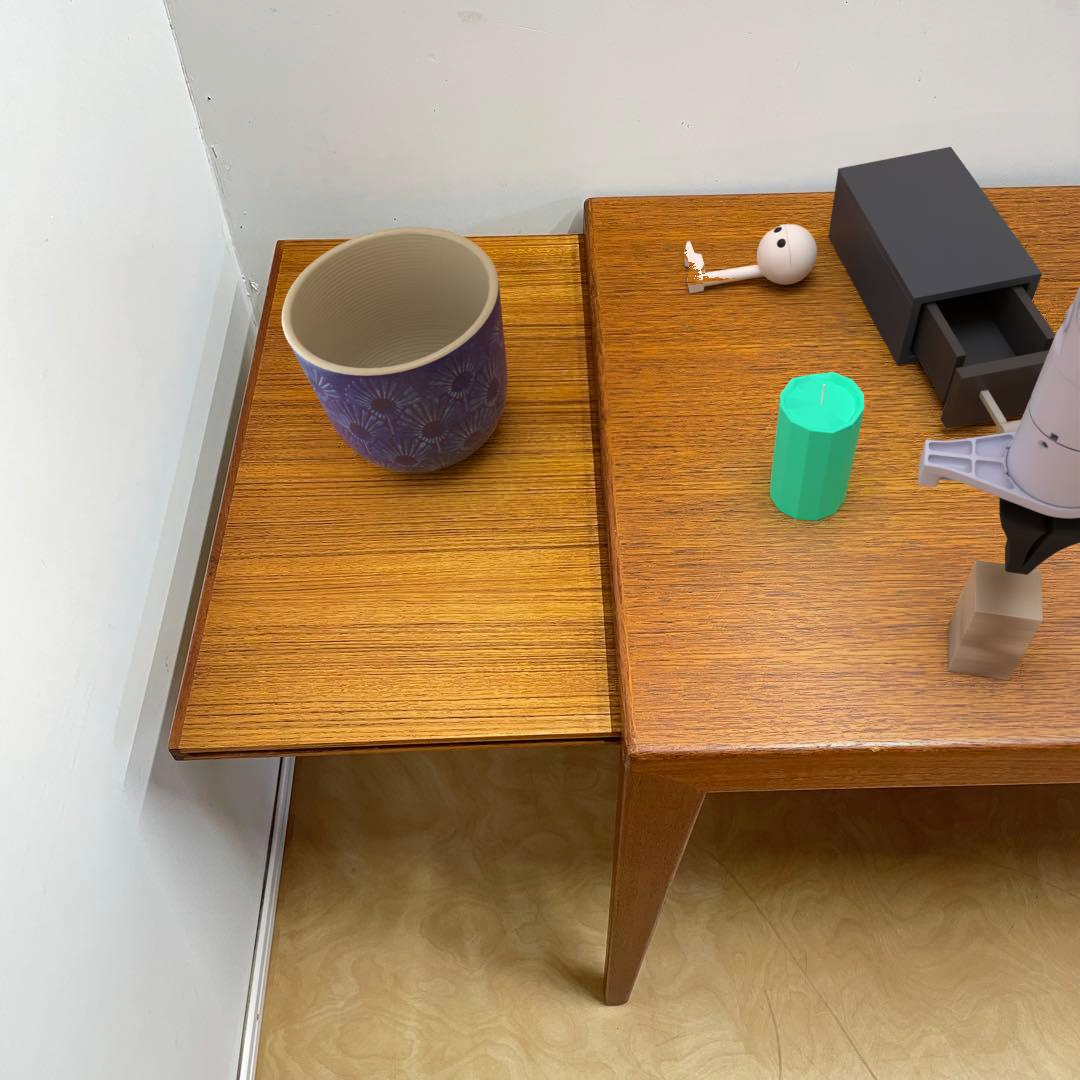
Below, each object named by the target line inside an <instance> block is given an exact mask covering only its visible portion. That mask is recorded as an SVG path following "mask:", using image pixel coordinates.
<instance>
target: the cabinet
mask: <svg viewBox="0 0 1080 1080" xmlns="http://www.w3.org/2000/svg"><path fill="white" fill-rule="evenodd" d="M828 229H829V230H828V238H829V241H830V243H831V244H832V246H833V248H834V250H835V251H836V254H837V256H838V258H839V259H840V262H841V263H842V265H843V267H844V269H845V270H846V272H847V274H848V276H849V278H850V280H851V281H852V283H853V285H854V287H855V289H856V291H857V293H858V295H859V297H860V299H861V301H862V302H863V305H864V306H865V308H866V310H867V311H868V313H869V315H870V318H871V319H872V321H873V323H874V325H875V327H876V328H877V330H878V332H879V334H880V336H881V338H882V339H883V342H884V343H885V345H886V347H887V349H888V351H889V352H890V355H891V356H892V358H893V360H894V362H895V364H896V366H897V367H901V366H905V365H910V364H916V363H920V361H919V359H918V358H917V356H916V354H915V352H914V350H913V349H912V347H911V343H912V339H913V335H914V331H915V327H916V323H917V319H918V315H919V312H920V308H921V304H922V303H928V302H933V301H938V300H943V299H948V298H953V297H959V296H964V295H969V294H974V293H979V292H984V291H990V290H995V289H1000V288H1005V287H1010V286H1015V285H1020V284H1021V285H1022V287H1023V288H1024V290H1025V291H1026V293H1027V294H1028V296H1029V297H1030V298H1031V300H1032V301H1033V300H1034V297H1035V294H1036V293H1037V289H1038V286H1039V285H1040V284H1039V283H1040V281H1041V278H1042V276H1043V272H1042V271H1041V269H1040V268H1039V267H1038V265H1037V264H1036V263H1035V261H1034V260H1033V258H1032V257H1031V256H1030V254H1029V253H1028V252H1027V250H1026V248H1025V247H1024V246H1023V244H1022V243H1021V242H1020V241H1019V240H1020V239H1018V238H1017V236H1016V234H1015V233H1014V232H1013V231H1012V229H1011V227H1010V226H1009V225H1008V224H1007V222H1006V220H1005V219H1004V218H1003V216H1001V214H1000V213H999V211H998V209H996V207H995V205H994V204H993V202H992V201H991V200H990V199H989V197H988V195H986V193H985V192H984V190H983V189H982V188H981V187H980V185H979V183H978V182H977V181H976V179H975V178H974V176H973V175H972V174H971V173H970V171H969V170H968V169H967V166H966V165H965V163H963V162H962V160H961V159H960V157H959V155H957V153H956V151H955V150H954V149H953V148H952V146H948V147H947V146H946V147H942V148H936V149H931V150H926V151H922V152H921V151H920V152H915V153H910V154H905V155H901V156H900V155H899V156H897V157H891V158H885V159H879V160H874V161H870V162H864V163H859V164H855V165H849V166H844V167H843V166H842V167H839V168H838V169H837V174H836V181H835V187H834V194H833V203H832V208H831V215H830V223H829V228H828Z"/></svg>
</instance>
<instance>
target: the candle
mask: <svg viewBox="0 0 1080 1080" xmlns="http://www.w3.org/2000/svg"><path fill="white" fill-rule="evenodd" d="M777 411H778V413H777V421H776V430H775V439H774V445H773V447H774V448H773V456H772V465H771V473H770V474H771V475H770V482H769V483H770V484H769V498H770V499H771V501H772V502H773V503H774V505H775V507H776V508H777V509H778V511H779V512H781V513H783V514H784V515H787V516H789V517H791V518H793V519H794V520H801V521H814V522H816V521H820V520H823V519H824V518H828V517H830V516H833V515H835V514H836V513H837V512H838V510H839V509H840V508H841V506H842V505H843V504H844V503H845V501H846V496H847V491H848V488H849V482H850V478H851V473H852V468H853V464H854V460H855V454H856V450H857V445H858V441H859V435H860V431H861V427H862V421H863V416H864V413H865V394H864V392H863V391H862V389H861V388H860V387H859V386H858V384H857V383H856V382H855V381H854V379H853V378H849V377H847V376H845V375H842V374H839V373H837V372H834V371H831V372H829V371H828V372H822V373H813V374H807V375H801V376H796V377H792V378H791V379H790V380H789V381H788V383H787V384H786V386H785V387H784V389H783V390H782V391H781V392H780V395H779V404H778V410H777Z"/></svg>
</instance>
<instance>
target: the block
mask: <svg viewBox="0 0 1080 1080" xmlns="http://www.w3.org/2000/svg"><path fill="white" fill-rule="evenodd" d="M1042 584H1043V583H1042V569H1041V568H1038V567H1036V568H1035V569H1034V570H1033V571H1031V572H1030V573H1029V574H1028V575H1025V574H1017V573H1010V572H1006V571H1005V563H999V562H993V561H987V560H986V561H985V560H977V559H976V560H974V563H973V565H972V567H971V568H970V571H969V574H968V576H967V578H966V581H965V583H964V585H963V588H962V591H961V593H960V595H959V598H958V600H957V601H956V602H957V603H956V605H955V607H954V610H953V612H952V614H951V616H950V619H949V621H948V634H947V635H948V637H947V639H948V642H947V672H950V673H959V674H963V675H964V674H965V675H970V676H978V677H984V678H989V679H990V678H991V679H996V680H1002V681H1003V680H1004V681H1010V679H1011V678H1012V676H1013V674H1014V673H1015V671H1016V669H1017V667H1018V665H1019V663H1020V662H1021V660H1022V658H1023V657H1024V655H1025V653H1026V650H1028V647H1029V646H1030V644H1031V643H1032V641H1033V640H1034V637H1035V635H1036V634H1037V632H1038V630H1039V628H1040V626H1041V625H1042V623H1043V621H1044V613H1043V611H1044V610H1043V588H1042V587H1043V586H1042Z"/></svg>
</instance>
